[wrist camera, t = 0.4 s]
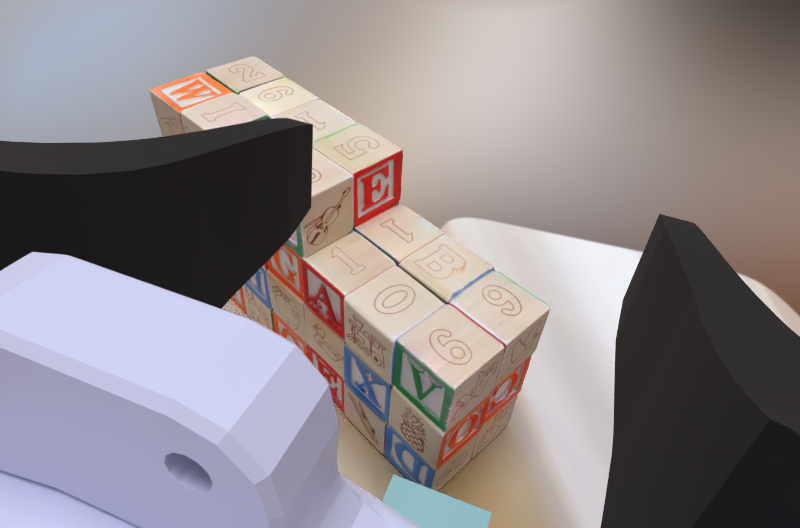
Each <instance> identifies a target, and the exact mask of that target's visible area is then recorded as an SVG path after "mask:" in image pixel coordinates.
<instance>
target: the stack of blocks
mask: <svg viewBox="0 0 800 528" xmlns="http://www.w3.org/2000/svg"><path fill="white" fill-rule="evenodd" d="M149 91H150V95H151V99H152V102H153V105H154V109H155V113H156V115H157V119H158V123H159V126H160V129H161V132H162V136H163V137H164V136H171V135H177V134H183V133H190V132H196V131H203V130H208V129H213V128H219V127H224V126H230V125H235V124H240V123H246V122H252V121H258V120H265V119H273V118H290V119H294V120H298V121H302V122H305V123H309V124H313V148H312V196H311V208H310V210H309V211H308V213H307V214H306V216H305V217H304V219H303V220H302V222H301V223H300V225H299V226H298V228H297V229H296V230H295V232H294V233H293V234H292V236H291V237H290V238H289V239H288V240H287V242H286V243H285V244H284V245H283V246H282V247H281V248H280V249H279V250H278V251H277V252H276V253H275V254H274V255H273V256H272V257H271V258H270V259H269V260H268V261H267V262H266V263H265V264H264V265H263V266H262V267H261V268H260V269H259V270H258V271H257V272H256V273H255V274H254V275H253V276H252V277H251V278H250V279H249V280H248V281H247V282H246V283H245V284H244V285H243V286H242V287H241V288H240V289H239V290H238V291H237V292H236V293H235V294H234V295H233V296H232V297H231V299H232V300H233V301H234V302H235V303H236V304H237V305H238V306H239V307H240V308H241V309H242V311H243V312H244V313H246V314H247V315H248V317H249V318H250V319H251V320H254V321H256V322H258V323H260V324H261V325H263V326H265V327H267V328H268V329H270V330H272V331H274V332H275V333H277V334H279V335H281V336H282V337H284V338H286V339H287V340H289V341H291V342H293V343H294V344H296V345H297V346H298V347H299V349H300V350H301V351H302V352H303V353H304V354H305V356H306V357H307V358H308V359H309V360H310V361H311V363H312V364H313V365H314V366H315V367H316V369H317V370H318V371H319V372H320V373H321V374H322V376H323V377H324V378H325V379H326V381H327V383H328V385H329V388H330V391H331V395H332V399H333V401H334V402H335V403H336V404H337V405H338V406H339V407H340V408H341V409H342V410H343V411H344V412H345V416H346V417H347V418H348V420H349V421H350V422H351V423H352V424H353V425H354V426H355V427H356V428H357V429H358V430H359V431H360V432H361V433H362V434H363V435H364V436H365V437H366V438H367V439H368V440H369V441H370V442H371V444H372V445H373V446H374V447H375V448H376V449H377V450H378V451H379V452H380V453H382V454H383V455H385V456H386V458H387V459H388V460H389V461H390V462H391V464H392V465H393V466H394V467H395V468H396V469H397V470H398V471H399V472H400V473H401V474H402V475H403V476H404V477H405V478H406V479H407V480H409V481H412V482H415V483H417V484H420V485H422V486H425V487H427V488H430V489H432V490H435V491H438V490H439V489H440V488H441V487H443V486H444V485H445V484H446V483H447V482H448V481H449V480H450V479H451V478H452V477H453V476H454V475H455V474H456V473H457V472H458V471H459V470H461V469H462V468H463V467H464V466H465V465H466V464H467V463H468V462H469V461H470V460H471V459H473V458H474V457H475V456H476V455H477V454H478V453H479V452H480V451H482V450H483V449H484V448H485V447H486V446H487V445H488V444H489V443H490V442H491V441H492V440H493V439H494V438H495V437H496V436H497V435H498V434H499V433H500V432H501V431H502V430H503V429H504V428H505V426H506V425H507V424H508V422H509V419H510V417H511V414H512V411H513V408H514V404H515V401H516V398H517V394H518V393H519V392H520V390H521V387H522V384H523V381H524V378H525V375H526V372H527V369H528V366H529V363H530V359H531V355H532V354H533V352H534V351H535V349H536V348H537V345H538V342H539V339H540V336H541V333H542V331H543V328H544V325H545V323H546V320H547V317H548V314H549V311H550V307H549V306H548V305H547V304H546V303H545V302H543V301H541V300H540V299H538V298H537V297H535V296H534V295H532V294H531V293H529V292H528V291H526V290H525V289H523V288H522V287H520V286H519V285H518V284H516V283H515V282H513V281H512V280H510V279H509V278H507V277H506V276H504V275H503V274H502V273H500V272H497V271H494V267H493V266H492V265H491V264H489V263H488V262H486V261H485V260H483V259H482V258H480V257H479V256H478V255H476V254H475V253H473V252H472V251H470V250H469V249H467V248H466V247H465V246H463V245H462V244H460V243H459V242H457V241H456V240H454V239H453V238H452V237H450V236H448V235H445V234H444V233H443V231H441V230H440V229H439V228H438V227H436V226H435V225H433V224H432V223H430V222H429V221H427V220H426V219H424V218H423V217H421V216H420V215H418V214H417V213H415V212H413V211H412V210H410V209H409V208H407V207H405V206H402V205H399V204H398V203H399V200H400V194H401V176H402V159H403V153H402V152H403V151H402V149H400V148H399V147H397V146H396V145H394V144H393V143H391V142H389V141H388V140H386V139H385V138H383V137H381V136H380V135H378V134H376V133H375V132H373V131H372V130H370V129H368V128H367V127H365V126H363V125H362V124H358V123H357V122H356V121H354V120H353V119H351V118H350V117H348V116H347V115H345V114H343V113H342V112H340V111H338V110H337V109H335V108H333V107H332V106H331V105H329V104H327V103H325V102H324V101H321V100H320V99H319V98H318V97H316V96H315V95H313V94H311V93H310V92H308V91H307V90H305V89H304V88H302V87H301V86H299V85H297V84H296V83H294V82H293V81H291V80H289V79H288V78H285V77H284V76H283V74H281V73H280V72H278V71H277V70H275V69H273V68H272V67H271V66H269V65H267V64H266V63H264V62H263V61H261V60H260V59H258V58H256V57H254V56H253V57H249V58H246V59H242V60H239V61H235V62H232V63H229V64H226V65H222V66H219V67H216V68H212V69H208V70H207V72H206V74H205V73H202V72H201V73H197V74H194V75H191V76H188V77H185V78H181V79H178V80H176V81H172V82H169V83H167V84H164V85H160V86H157V87H155V88H152V89H151V90H149Z"/></svg>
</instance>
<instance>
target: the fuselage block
mask: <svg viewBox="0 0 800 528" xmlns="http://www.w3.org/2000/svg"><path fill="white" fill-rule="evenodd" d="M382 502H384V503H385V504H387V505H388V506H390V507H391V508H393V509H394V510H396V511H397V512H399V513H400V514H402V515H403V516H405V517H406V518H408V519H409V520H411V521H412V522H414V523H415V524H417V525H418V526H420V527H422V528H488V524H489V520H490V517H491V512H488V511H486V510H483V509H481V508H478V507H476V506H473V505H471V504H468V503H465V502H463V501H460V500H458V499H455V498H453V497H450V496H448V495H445V494H443V493H440V492H437V491H435V490H432V489H430V488H427V487H425V486H422V485H420V484H417V483H415V482H412V481H409V480H407V479H404V478H402V477H399V476H397V475H394V474H393V476H392V479H391V481H390V484H389V486H388V488H387V491H386V493H385V496H384V498H383V501H382Z"/></svg>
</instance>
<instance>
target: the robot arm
mask: <svg viewBox="0 0 800 528" xmlns="http://www.w3.org/2000/svg"><path fill="white" fill-rule="evenodd" d="M312 148H313V124H309V123H305V122H302V121H298V120H294V119H290V118H273V119H265V120H258V121H252V122H246V123H240V124H235V125H230V126H224V127H219V128H213V129H208V130H203V131H196V132H190V133H183V134H177V135H171V136H164V137H158V138H150V139H140V140H129V141H115V142H100V143H30V142H9V141H0V528H422V527H420V526H418V525H417V524H415V523H414V522H412V521H411V520H409V519H408V518H406V517H405V516H403V515H402V514H400V513H399V512H397V511H396V510H394V509H393V508H391V507H390V506H388V505H387V504H385V503H384V502H382V501H380V500H379V499H377V498H376V497H374V496H373V495H371V494H370V493H368V492H367V491H365V490H364V489H362V488H361V487H359V486H358V485H356V484H355V483H353V482H352V481H350V480H349V479H347V478H346V477H344V476H342V475H340V473H339V471H338V466H337V444H338V430H339V421H338V418H337V414H336V410H335V406H334V403H333V399H332V395H331V391H330V388H329V385H328V383H327V381H326V379H325V378H324V377H323V376H322V374H321V373H320V372H319V371H318V370H317V369H316V367H315V366H314V365H313V364H312V363H311V361H310V360H309V359H308V358H307V357H306V356H305V354H304V353H303V352H302V351H301V350H300V349H299V347H298V346H297V345H296V344H294V343H293V342H291V341H289V340H287V339H286V338H284V337H282V336H281V335H279V334H277V333H275V332H274V331H272V330H270V329H268V328H267V327H265V326H263V325H261V324H260V323H258V322H256V321H254V320H251V319H248V318H245V317H243V316H240V315H237V314H234V313H231V312H228V311H226V310H223V309H221V308H222V307H223V306H224V305H225V304H226V303H227V302H228V300H229V299H230V298H231V297H232V296H233V295H234V294H235V293H236V292H237V291H238V290H239V289H240V288H241V287H242V286H243V285H244V284H245V283H246V282H247V281H248V280H249V279H250V278H251V277H252V276H253V275H254V274H255V273H256V272H257V271H258V270H259V269H260V268H261V267H262V266H263V265H264V264H265V263H266V262H267V261H268V260H269V259H270V258H271V257H272V256H273V255H274V254H275V253H276V252H277V251H278V250H279V249H280V248H281V247H282V246H283V245H284V244H285V243H286V242H287V240H288V239H289V238H290V237H291V236H292V234H293V233H294V232H295V230H296V229H297V228H298V226H299V225H300V223H301V222H302V220H303V219H304V217H305V216H306V214H307V213H308V211H309V210H310V208H311V196H312ZM601 528H800V337H799V336H798V335H797V334H796V333H795V332H793V331H792V330H791V329H790V328H789V327H788V326H787V325H786V324H785V323H783V322H782V321H781V320H780V319H779V318H778V317H777V316H776V315H775V314H774V313H773V312H772V311H771V310H770V309H769V308H768V307H767V306H766V305H765V304H764V303H763V302H762V301H761V300H760V299H759V298H758V297H757V296H756V295H755V293H754V292H753V291H752V290H751V289H750V288H749V287H748V286H747V285H746V284H745V282H744V281H743V280H742V279H741V278H740V277H739V276H738V274H737V273H736V272H735V271H734V270H733V268H732V267H731V266H730V265H729V264H728V262H727V261H726V260H725V259H724V258H723V256H722V255H721V254H720V253H719V251H718V250H717V249H716V248H715V247H714V245H713V244H712V243H711V242H710V240H709V239H708V238H707V237H706V235H705V234H704V233H703V232H702V231H701V230H700V229H699V227H698V226H697V225H696V224H694V223H692V222H688V221H684V220H680V219H677V218H673V217H669V216H665V215H661V214H660V215H659V217H658V219H657V221H656V224H655V226H654V229H653V231H652V233H651V235H650V238H649V240H648V243H647V245H646V247H645V250H644V252H643V254H642V257H641V259H640V261H639V264H638V266H637V268H636V271H635V273H634V275H633V278H632V280H631V282H630V285H629V287H628V289H627V292H626V294H625V296H624V299H623V303H622V309H621V314H620V319H619V325H618V331H617V337H616V351H615V390H614V434H613V447H612V457H611V464H610V471H609V478H608V485H607V491H606V498H605V504H604V510H603V517H602V523H601Z"/></svg>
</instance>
